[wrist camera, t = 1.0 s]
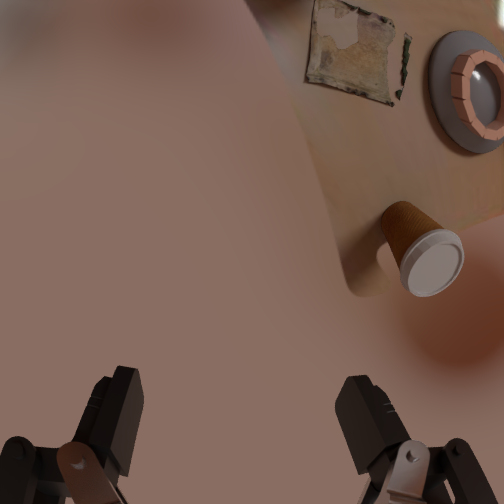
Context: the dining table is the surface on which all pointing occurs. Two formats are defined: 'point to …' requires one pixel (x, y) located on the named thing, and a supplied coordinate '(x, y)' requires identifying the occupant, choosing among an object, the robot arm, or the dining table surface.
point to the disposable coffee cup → (421, 249)
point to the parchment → (355, 54)
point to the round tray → (468, 90)
